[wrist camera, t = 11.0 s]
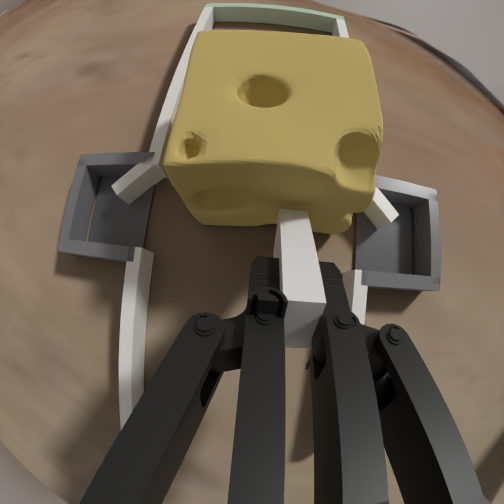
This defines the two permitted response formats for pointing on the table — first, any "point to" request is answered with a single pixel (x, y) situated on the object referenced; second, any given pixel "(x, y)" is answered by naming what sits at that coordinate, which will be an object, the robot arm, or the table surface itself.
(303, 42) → the cheese
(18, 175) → the table surface
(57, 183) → the table surface
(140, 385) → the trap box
